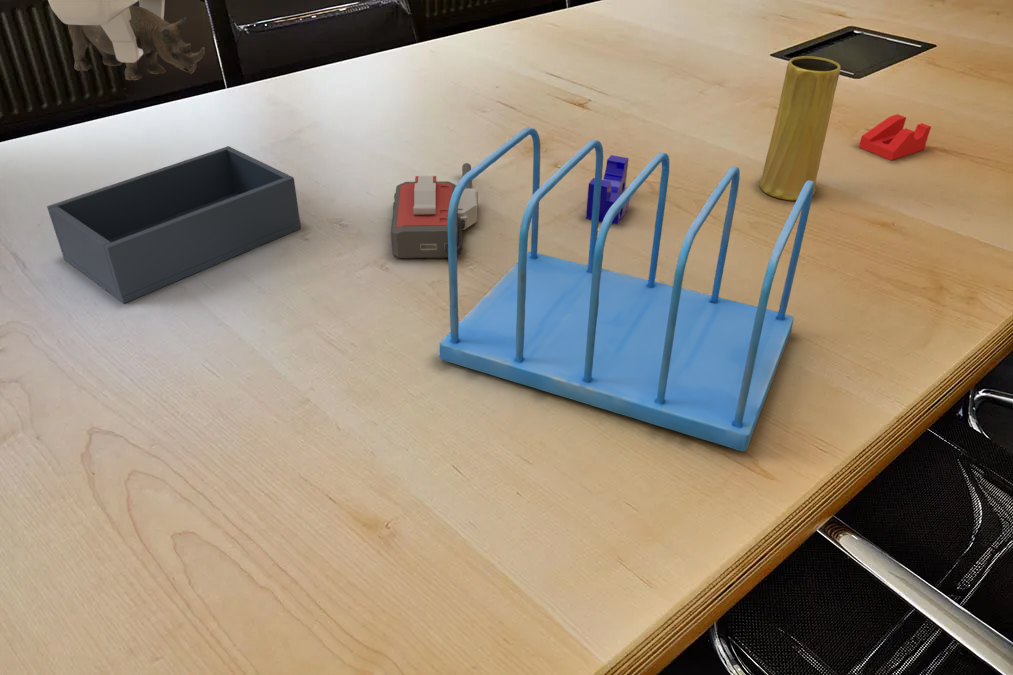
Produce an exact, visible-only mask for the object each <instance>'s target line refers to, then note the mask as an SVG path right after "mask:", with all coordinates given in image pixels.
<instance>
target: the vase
mask: <svg viewBox="0 0 1013 675" xmlns="http://www.w3.org/2000/svg"><path fill="white" fill-rule="evenodd" d="M840 73H841V65H840V63H838V62H837V61H835V60H832V59H829V58H825V57H821V56H820V57H819V56H812V55H810V56H809V55H802V56H795V57H791V58H790V59H789V60H788V62H787V65H786V70H785V76H784V80H783V85H782V89H781V95H780V98H779V104H778V108H777V113H776V116H775V121H774V126H773V129H772V134H771V137H770V142H769V146H768V149H767V154H766V158H765V162H764V167H763V170H762V175H761V178H760V179H759V180H760V181H759V188H760V189H761V190H762V192H764V193H765V194H766V195H768V196H770V197H772V198H776V199H779V200H785V201H792V202H793V201H795V202H796V200H797V198H798V196H799V194H800V192H801V190H802V188H803V186H804V184H805V182H806V181H808V180H809V181H813V182H814V191H813V196H814V195H815V193H816V183H817V177H818V173H819V170H820V166H821V159H822V156H823V154H822V153H823V148H824V145H825V141H826V136H827V132H828V127H829V123H830V117H831V113H832V108H833V103H834V100H835V93H836V91H837V90H836V89H837V86H838V83H839V77H840V75H841V74H840Z"/></svg>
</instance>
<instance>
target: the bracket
mask: <svg viewBox="0 0 1013 675" xmlns="http://www.w3.org/2000/svg"><path fill="white" fill-rule="evenodd" d="M906 120H907V116H903V115H901V114H898V113H896V114H894V115H890V116H888V117H887V118H885V119H884V120H882V121H881V122H880V123H878V124H877V125H875V126H874V127H872V128H870V129H869V130H868V131H867V132H865V133H864V134H862V135H861V137H860V140H859V145H858V147H859V148H860V149H862V150H865V151H867V152H870V153H872V154H874V155H877V156H880V157H882V158H884V159H887V160H889V161H894V160H897V159H900V158H902V157H903V158H904V157H907V156H909V155H911V154H915V153H917V152H920V151H921V152H922V151H924V150H925V147H926V144H927V141H928V137H929V134H930V131H931V128H932V126H931V125H929V124H925V123H922V122H921V123H918V124H916V127H915V129H914V130H912V129H909V128H907V127H906V128H904V126H905V123H906Z"/></svg>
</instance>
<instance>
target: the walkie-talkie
mask: <svg viewBox="0 0 1013 675" xmlns="http://www.w3.org/2000/svg"><path fill="white" fill-rule="evenodd" d="M461 168H462V169H461V174H462V175H461V176H462V177H463V176H464V175H465V174H466V173H467V172H469V171H470V170H471V169H472V165H471V164H470V163H469V162H464V163H463V164H462V166H461ZM462 177H461V178H462ZM414 178H415V179H414V181H404V182H402V183H399V184H397V185H396V186H395V192H394V196H393V198H394V201H393V203H392V210H393V211H392V219H391V220H392V221H391V228H390V242H391V254H392V255H393V256H395V257H396V258H399V259H442V258H443V259H446V258H447V259H448V210H449V204H450V200H451V197H452V194H453V192H454V189H455V187H456V185H457V184H456V183H453V182H451V181H446V180H445V181H444V180H443V181H440V180H439V181H437V175H415V176H414ZM478 207H479V191H478V188H473V180H472V181H470V183H469V184H468V185H467V186H466V187H465V189H464V191H463V193H462V195H461V197H460V201H459V205H458V209H457V218H456V238H457V256H458V255H460V254H461V253H462V251H463V231H465V230H466V229H468V228H470V227H471V226H472V225H473V224H476V222H477V221H478Z"/></svg>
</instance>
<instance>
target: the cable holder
mask: <svg viewBox="0 0 1013 675" xmlns="http://www.w3.org/2000/svg"><path fill="white" fill-rule="evenodd" d="M628 165H629V157H624V156H618V155H613V154H610V155H609V156H608V158H607V159H606V164H605V172H604V175H603V177H602V183H601V196H600V208H599V220H598V222H601V223H602V222H603V220H604V217H605V215H606V214H607V212H608V210H609V209H610V207H611V206H612V205H613V204H614V203H615V202H616V200H617V199H618V198H619V197H620V196H621V195H622V193H623V192H624V191H625V190H626V188H627V187H626V186H627V176H628V167H629V166H628ZM594 183H595V177H592V179H591V180H590V181H589V183H588V186H587V199H586V200H587V201H586V211H585V212H586V213H585V219H587V220H592V208H593V195H594ZM629 206H630V199H629V200H628V201H627V203H626V204H625V205H624V206H623V207H622V208H621V210H620V211H619V212H618V213H617V215H616V216H615V218H614V219H613V221H612V223H611V225H612V224H613V225H617V226H618V225H619V224H620V222H621V221H622V219H623V218H624V216H625V215H626V213H627V211H628V210H629Z"/></svg>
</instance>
